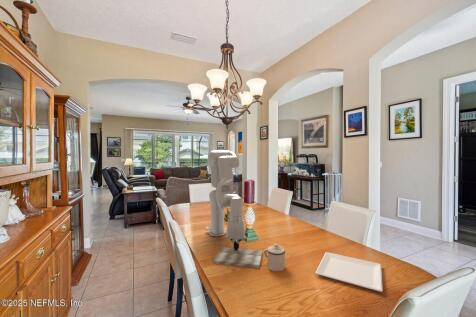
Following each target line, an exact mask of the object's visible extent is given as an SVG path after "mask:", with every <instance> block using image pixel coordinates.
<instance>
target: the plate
mask: <svg viewBox="0 0 476 317" xmlns="http://www.w3.org/2000/svg"><path fill="white" fill-rule="evenodd" d="M315 274H316V275H319V276H322V277H326V278H330V279H333V280H337V281H340V282H344V283H347V284H350V285H354V286H357V287H361V288H366V289H370V290H373V291H377V292H379V293H382V292H383V275H382V264H381V263H379V262H373V261H369V260H366V259H365V260H364V259H360V258H355V257H352V256H351V257H350V256H346V255H341V254H338V253H333V252H328V251H326V252H325V253H324V255H323V256H322V259H321V261H320V263H319V265H318V267H317V268H316V271H315Z"/></svg>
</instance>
